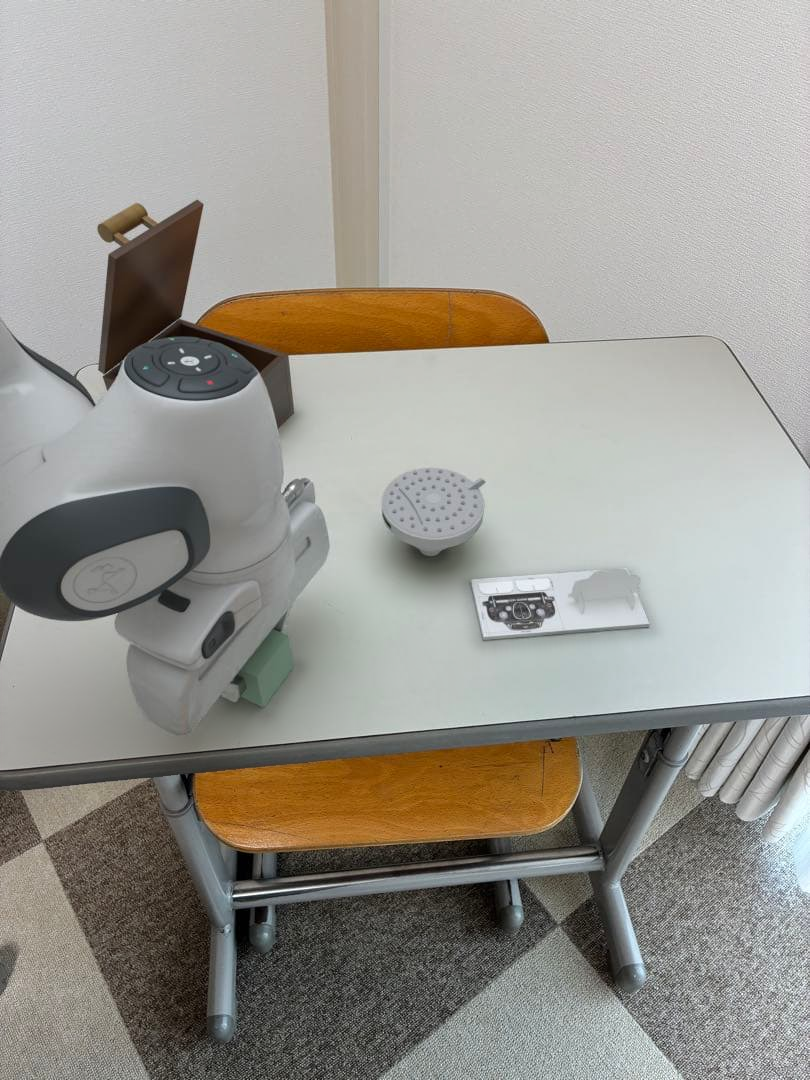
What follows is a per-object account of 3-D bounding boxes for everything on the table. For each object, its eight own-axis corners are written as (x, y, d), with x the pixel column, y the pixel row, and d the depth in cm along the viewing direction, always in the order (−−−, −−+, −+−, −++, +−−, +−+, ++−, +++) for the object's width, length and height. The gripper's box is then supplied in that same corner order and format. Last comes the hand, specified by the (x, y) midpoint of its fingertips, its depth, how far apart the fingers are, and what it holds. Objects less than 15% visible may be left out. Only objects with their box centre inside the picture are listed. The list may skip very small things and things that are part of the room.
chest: (294, 412, 91) (288, 354, 85) (229, 477, 83) (217, 418, 78) (191, 376, 96) (179, 318, 90) (120, 435, 88) (102, 376, 82)
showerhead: (510, 510, 71) (408, 544, 68) (501, 564, 76) (406, 597, 73) (461, 447, 76) (365, 475, 73) (456, 501, 82) (366, 529, 79)
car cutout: (626, 570, 76) (637, 538, 72) (648, 626, 71) (661, 594, 68) (470, 582, 74) (474, 549, 71) (482, 640, 70) (487, 608, 66)
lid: (203, 203, 77) (161, 173, 77) (115, 259, 70) (68, 224, 70) (181, 317, 90) (144, 290, 90) (104, 374, 82) (63, 345, 82)
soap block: (263, 708, 65) (257, 677, 61) (218, 686, 66) (209, 655, 63) (293, 667, 67) (289, 635, 64) (249, 646, 69) (242, 614, 66)
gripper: (275, 453, 63) (290, 568, 73) (94, 639, 50) (142, 747, 60) (344, 479, 61) (350, 593, 71) (174, 679, 48) (210, 784, 58)
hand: (253, 666), depth 66 cm, fingers closed on soap block, 4 cm apart
